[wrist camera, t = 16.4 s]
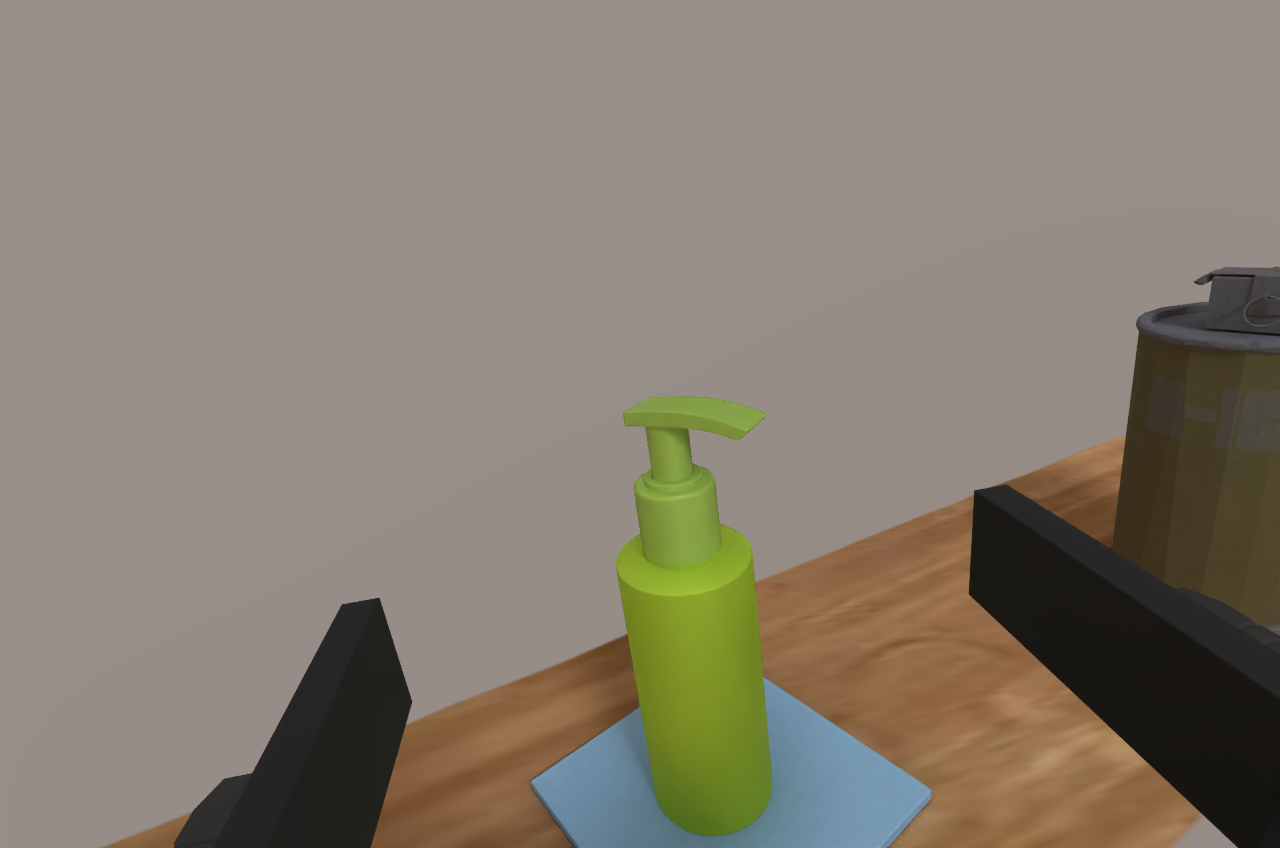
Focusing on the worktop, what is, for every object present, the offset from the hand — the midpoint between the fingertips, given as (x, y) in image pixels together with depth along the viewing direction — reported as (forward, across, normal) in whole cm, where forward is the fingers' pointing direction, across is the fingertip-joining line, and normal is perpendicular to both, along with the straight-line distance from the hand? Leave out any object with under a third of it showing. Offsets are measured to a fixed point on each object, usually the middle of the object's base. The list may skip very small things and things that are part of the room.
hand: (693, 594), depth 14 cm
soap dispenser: (+12, +2, -20) cm, 23 cm away
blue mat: (+12, +2, -20) cm, 23 cm away
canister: (+19, +36, -20) cm, 45 cm away
